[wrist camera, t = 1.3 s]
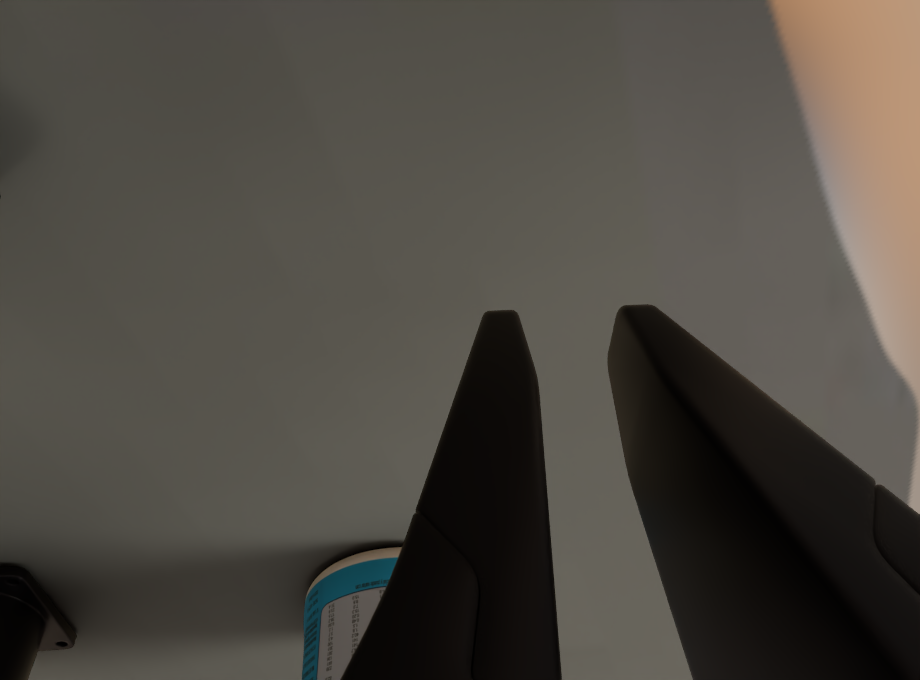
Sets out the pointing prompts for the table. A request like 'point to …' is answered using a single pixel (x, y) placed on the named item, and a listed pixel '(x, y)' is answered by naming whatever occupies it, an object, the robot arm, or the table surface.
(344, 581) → the beverage bottle
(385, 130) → the table surface
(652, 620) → the table surface
